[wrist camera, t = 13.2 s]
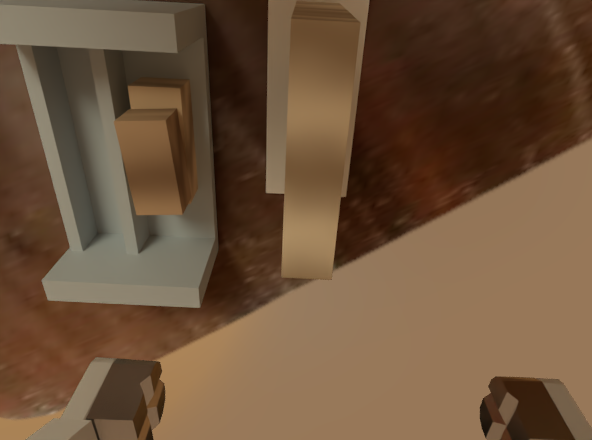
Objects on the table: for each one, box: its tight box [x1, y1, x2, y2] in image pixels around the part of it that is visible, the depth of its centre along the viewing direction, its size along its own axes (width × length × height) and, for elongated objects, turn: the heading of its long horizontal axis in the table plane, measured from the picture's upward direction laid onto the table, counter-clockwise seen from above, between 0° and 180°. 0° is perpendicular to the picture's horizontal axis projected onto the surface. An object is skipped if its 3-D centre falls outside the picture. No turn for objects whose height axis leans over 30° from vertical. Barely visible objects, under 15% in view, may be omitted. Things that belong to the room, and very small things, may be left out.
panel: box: [281, 1, 361, 280], centre depth 27 cm, size 14×3×13 cm, turn 177°
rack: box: [0, 0, 219, 308], centre depth 32 cm, size 21×12×8 cm, turn 177°
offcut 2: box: [114, 108, 192, 215], centre depth 30 cm, size 7×3×3 cm, turn 1°
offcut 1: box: [128, 77, 198, 204], centre depth 33 cm, size 9×4×3 cm, turn 177°
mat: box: [266, 0, 369, 197], centre depth 33 cm, size 16×7×1 cm, turn 177°
